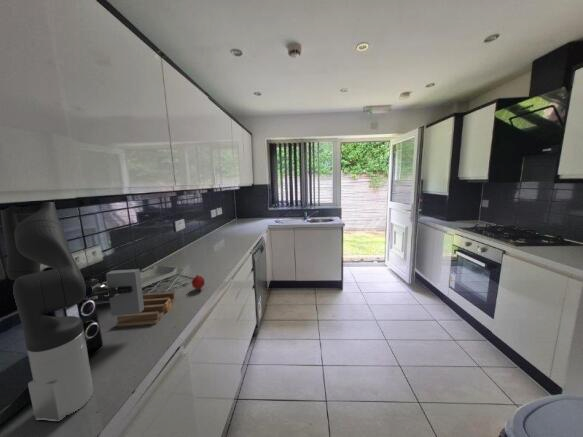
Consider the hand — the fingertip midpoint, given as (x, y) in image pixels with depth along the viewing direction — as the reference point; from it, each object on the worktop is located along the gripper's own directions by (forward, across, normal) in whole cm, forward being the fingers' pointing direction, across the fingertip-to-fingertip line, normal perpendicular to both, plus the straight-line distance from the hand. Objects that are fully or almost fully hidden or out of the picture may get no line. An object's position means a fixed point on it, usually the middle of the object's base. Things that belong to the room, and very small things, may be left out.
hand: (134, 287), depth 80 cm
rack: (-3, +14, +17) cm, 22 cm away
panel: (-3, 0, +9) cm, 9 cm away
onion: (+12, +31, +17) cm, 38 cm away
